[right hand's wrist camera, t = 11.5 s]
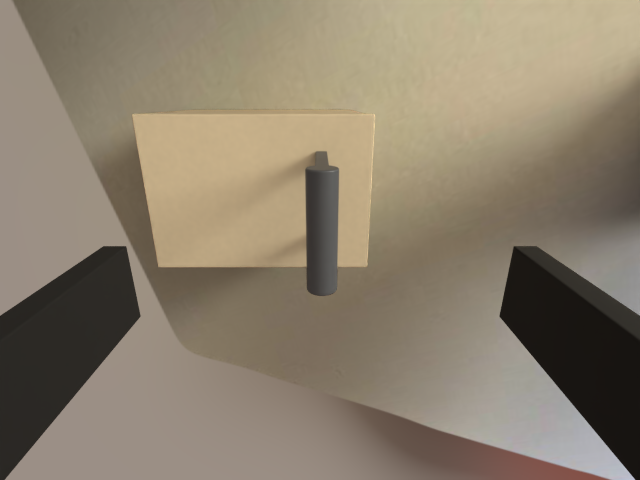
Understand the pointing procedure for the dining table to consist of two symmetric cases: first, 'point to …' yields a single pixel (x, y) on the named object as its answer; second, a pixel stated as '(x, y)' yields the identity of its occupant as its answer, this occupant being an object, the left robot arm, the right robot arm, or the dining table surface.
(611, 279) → the dining table surface
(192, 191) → the lid
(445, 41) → the dining table surface
